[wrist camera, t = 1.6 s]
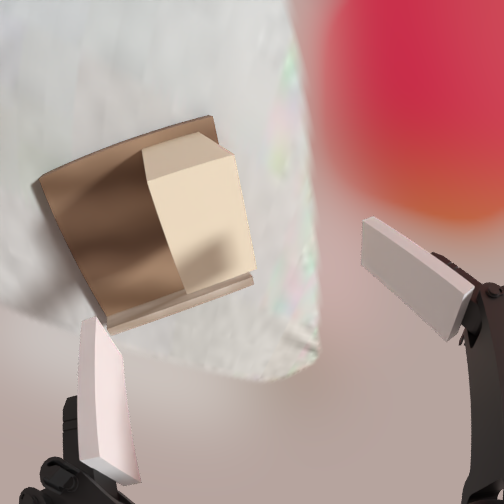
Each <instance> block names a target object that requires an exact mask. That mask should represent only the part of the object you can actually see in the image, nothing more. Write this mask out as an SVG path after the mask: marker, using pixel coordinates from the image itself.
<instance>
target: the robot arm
mask: <svg viewBox="0 0 504 504" xmlns="http://www.w3.org/2000/svg"><path fill="white" fill-rule="evenodd" d="M361 249H362V250H361V265H362V266H363V267H364V268H365V269H366V270H368V271H369V272H370V273H371V274H372V275H373V276H374V277H376V278H377V279H378V280H379V281H380V282H381V283H383V284H384V285H385V286H386V287H387V288H388V289H389V290H390V291H391V292H393V293H394V294H395V295H396V296H397V297H398V298H399V299H400V300H402V301H403V302H404V303H405V304H406V305H407V306H408V307H409V308H410V309H412V310H413V311H414V312H415V313H416V314H417V315H418V316H419V317H420V318H421V319H423V320H424V321H425V322H426V323H427V324H428V325H429V326H430V327H431V328H432V329H433V330H434V331H435V332H436V333H437V334H439V336H441V337H442V338H443V339H444V340H445V341H446V342H447V341H449V340H450V339H451V338H452V337H454V336H455V335H456V334H457V333H458V330H459V328H460V326H461V324H462V325H463V326H464V327H465V329H464V332H463V334H462V336H461V338H460V341H459V345H461V344H462V342H463V340H465V343H464V345H465V346H466V354H467V363H468V372H469V383H470V397H471V424H472V425H471V427H472V428H471V430H472V431H471V433H472V435H471V466H470V473H469V476H468V478H467V480H466V482H465V485H464V488H463V493H462V501H461V504H504V491H503V500H497V497H498V494H499V492H500V491H501V490H502V489H504V286H501V287H500V286H499V285H497V284H495V283H490V282H489V283H484V284H481V283H480V282H478V281H477V280H476V279H474V278H473V277H472V276H470V275H469V274H468V273H466V272H465V271H464V270H462V269H461V268H458V266H457V265H455V264H454V263H451V261H450V260H448V259H447V258H445V257H444V256H442V255H439V254H437V253H434V252H432V253H429V252H427V251H426V250H425V249H423V248H422V247H420V246H419V245H417V244H416V243H414V242H413V241H411V240H410V239H408V238H407V237H405V236H404V235H402V234H401V233H399V232H398V231H396V230H395V229H393V228H392V227H390V226H388V225H387V224H385V223H384V222H382V221H381V220H379V219H378V218H376V217H374V216H372V217H369V218H367V219H364V220H362V247H361ZM77 393H78V395H77V396H73V397H69V398H67V400H66V403H65V405H64V408H63V422H64V423H63V432H64V433H63V459H64V460H63V459H62V458H60V457H51V458H49V459H47V460H46V461H45V462H44V463H43V465H42V467H41V470H40V480H41V483H42V485H43V486H44V487H45V489H43V490H41V491H39V490H37V489H35V488H32V487H28V488H26V489H24V490H23V491H22V492H21V495H20V497H19V504H135V503H133V502H132V501H131V500H130V499H128V498H127V497H126V496H125V495H123V494H122V493H121V492H120V491H118V490H117V486H116V482H117V483H119V484H121V485H123V486H126V485H132V484H137V483H141V478H140V474H139V469H138V464H137V459H136V453H135V448H134V443H133V437H132V430H131V424H130V417H129V410H128V403H127V394H126V385H125V376H124V365H123V356H122V354H121V353H120V351H119V350H118V348H117V347H116V346H115V344H114V343H113V341H112V340H111V338H110V337H109V335H108V334H107V332H106V331H105V329H104V328H103V326H102V324H101V323H100V321H99V320H98V318H97V317H96V316H95V317H92V318H89V319H87V320H84V321H82V324H81V334H80V347H79V362H78V390H77Z"/></svg>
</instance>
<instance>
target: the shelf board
mask: <svg viewBox="0 0 504 504" xmlns="http://www.w3.org/2000/svg"><path fill="white" fill-rule="evenodd" d="M196 132H199V133H201V134H203V135H204V136H206V137H208V138H209V139H211V140H212V141H214V142H215V143H217V144H219V143H218V138H217V134H216V129H215V124H214V120H213V116H210V115H208V116H204V117H200V118H196V119H192V120H189V121H185V122H182V123H178V124H175V125H171V126H168V127H165V128H161V129H158V130H155V131H152V132H149V133H146V134H143V135H140V136H137V137H134V138H131V139H128V140H125V141H122V142H120V143H117V144H114V145H112V146H109V147H106V148H104V149H101V150H98V151H96V152H93V153H91V154H88V155H86V156H84V157H81V158H79V159H76V160H74V161H72V162H69V163H67V164H65V165H63V166H60V167H58V168H56V169H54V170H52V171H49V172H47V173H45V174H43V175H42V176H41V177H40V178H39V181H40V183H41V186H42V189H43V191H44V194H45V196H46V198H47V201H48V203H49V206H50V208H51V210H52V213H53V215H54V217H55V219H56V222H57V224H58V226H59V228H60V230H61V233H62V235H63V237H64V239H65V241H66V243H67V245H68V247H69V249H70V251H71V253H72V255H73V257H74V259H75V261H76V263H77V265H78V267H79V269H80V271H81V272H82V274H83V276H84V278H85V280H86V282H87V283H88V285H89V287H90V289H91V291H92V292H93V294H94V296H95V298H96V299H97V301H98V303H99V304H100V306H101V308H102V309H103V311H104V313H105V314H106V316H107V330H108V332H109V333H110V335H111V336H112V335H115V334H118V333H121V332H124V331H127V330H130V329H132V328H135V327H138V326H141V325H144V324H147V323H150V322H153V321H155V320H158V319H161V318H164V317H167V316H170V315H172V314H175V313H178V312H181V311H184V310H186V309H189V308H192V307H195V306H197V305H200V304H203V303H206V302H208V301H211V300H214V299H216V298H219V297H222V296H224V295H227V294H230V293H233V292H235V291H238V290H241V289H243V288H246V287H248V286H251V285H254V282H253V277H252V276H251V274H250V273H249V272H247V273H244V274H242V275H239V276H236V277H234V278H231V279H228V280H225V281H223V282H220V283H217V284H215V285H212V286H209V287H206V288H204V289H201V290H198V291H195V292H193V293H190V294H187V293H186V291H185V288H184V285H183V283H182V280H181V278H180V275H179V272H178V270H177V267H176V264H175V262H174V259H173V256H172V254H171V251H170V248H169V245H168V243H167V240H166V237H165V234H164V231H163V228H162V226H161V223H160V220H159V217H158V214H157V211H156V208H155V205H154V202H153V199H152V196H151V193H150V190H149V186H148V183H147V179H146V173H145V167H144V161H143V155H142V149H144V148H147V147H150V146H153V145H156V144H159V143H162V142H166V141H169V140H172V139H175V138H179V137H182V136H185V135H189V134H192V133H196Z"/></svg>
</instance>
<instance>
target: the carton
mask: <svg viewBox="0 0 504 504" xmlns="http://www.w3.org/2000/svg"><path fill="white" fill-rule="evenodd" d="M142 155H143V161H144V167H145V173H146V179H147V183H148V186H149V190H150V193H151V196H152V199H153V202H154V205H155V208H156V211H157V214H158V217H159V220H160V223H161V226H162V228H163V231H164V234H165V237H166V240H167V243H168V245H169V248H170V251H171V254H172V256H173V259H174V262H175V264H176V267H177V270H178V272H179V275H180V278H181V280H182V283H183V285H184V288H185V291H186V293H187V294H190V293H193V292H195V291H198V290H201V289H204V288H206V287H209V286H212V285H215V284H217V283H220V282H223V281H225V280H228V279H231V278H234V277H236V276H239V275H242V274H244V273H247V272H250V271H253V270H255V269H257V266H256V261H255V256H254V251H253V246H252V241H251V236H250V231H249V226H248V221H247V216H246V211H245V206H244V201H243V196H242V191H241V186H240V181H239V176H238V171H237V166H236V161H235V156H234V154H233V153H231V152H230V151H228V150H226V149H225V148H223V147H222V146H220V145H219V144H217V143H215V142H214V141H212V140H211V139H209V138H208V137H206V136H204V135H203V134H201V133H199V132H196V133H192V134H189V135H185V136H182V137H179V138H175V139H172V140H169V141H166V142H162V143H159V144H156V145H153V146H150V147H147V148H144V149H142Z"/></svg>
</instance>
